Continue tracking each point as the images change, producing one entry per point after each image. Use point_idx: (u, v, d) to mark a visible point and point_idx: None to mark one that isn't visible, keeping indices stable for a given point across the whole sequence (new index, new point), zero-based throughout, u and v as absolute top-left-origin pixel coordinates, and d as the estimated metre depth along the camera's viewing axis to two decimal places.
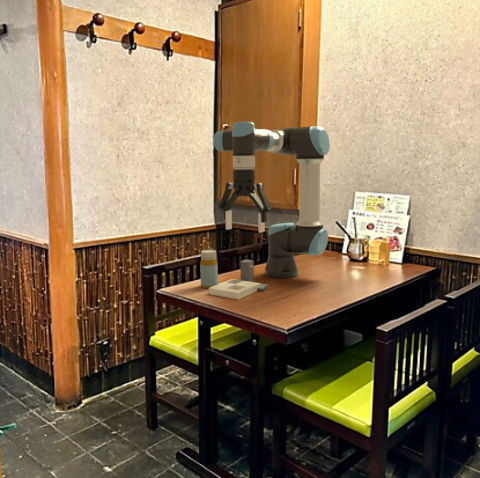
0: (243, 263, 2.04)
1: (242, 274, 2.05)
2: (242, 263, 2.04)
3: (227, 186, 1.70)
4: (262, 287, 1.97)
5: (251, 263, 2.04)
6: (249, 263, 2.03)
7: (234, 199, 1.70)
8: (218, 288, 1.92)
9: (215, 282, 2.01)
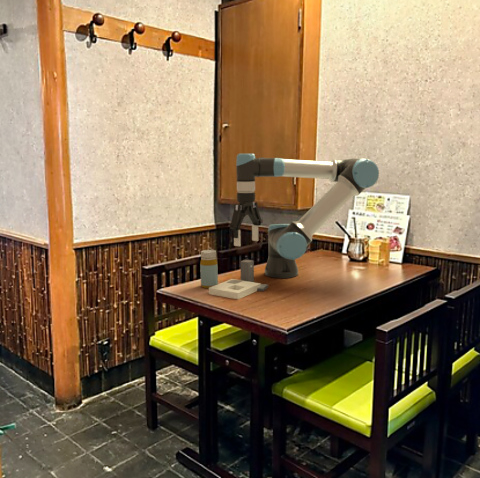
0: (243, 263, 2.04)
1: (242, 274, 2.05)
2: (242, 263, 2.04)
3: None
4: (262, 287, 1.97)
5: (251, 263, 2.04)
6: (249, 263, 2.03)
7: (251, 216, 2.05)
8: (218, 288, 1.92)
9: (215, 282, 2.01)
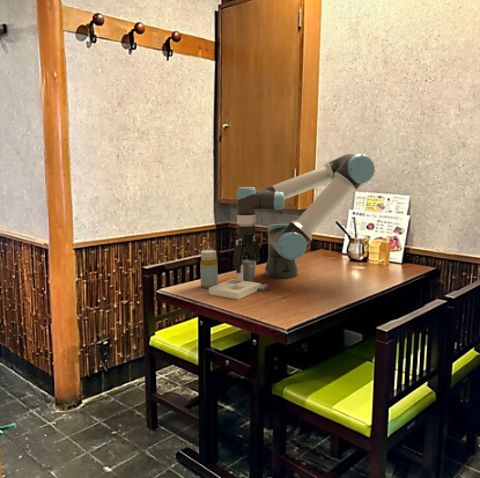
0: (243, 263, 2.04)
1: None
2: (242, 263, 2.04)
3: None
4: (262, 287, 1.97)
5: (251, 263, 2.04)
6: (249, 263, 2.03)
7: (250, 250, 2.06)
8: (218, 288, 1.92)
9: (215, 282, 2.01)
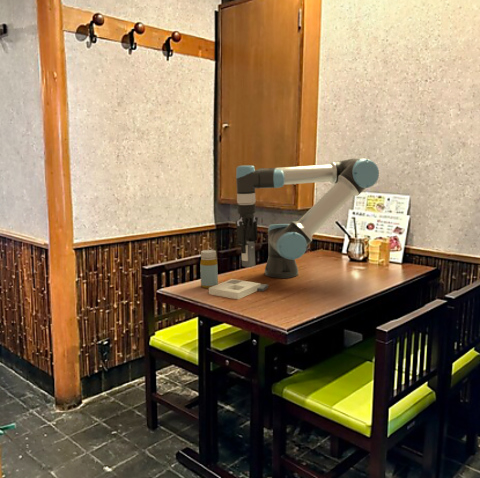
0: None
1: None
2: None
3: None
4: (262, 287, 1.97)
5: (252, 244, 2.03)
6: (250, 244, 2.02)
7: (249, 230, 2.04)
8: (218, 288, 1.92)
9: (215, 282, 2.01)
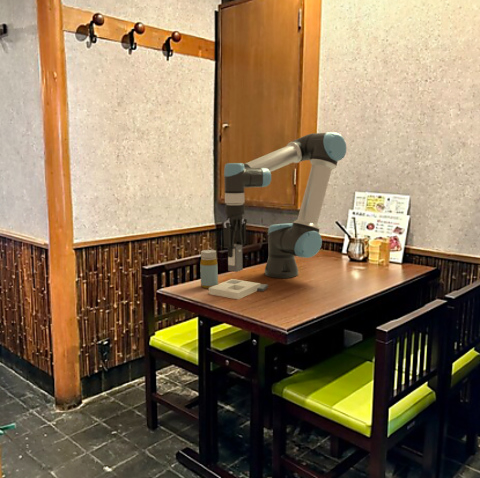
0: None
1: None
2: None
3: None
4: (262, 287, 1.97)
5: (239, 247, 1.89)
6: (237, 248, 1.88)
7: (237, 233, 1.90)
8: (218, 288, 1.92)
9: (215, 282, 2.01)
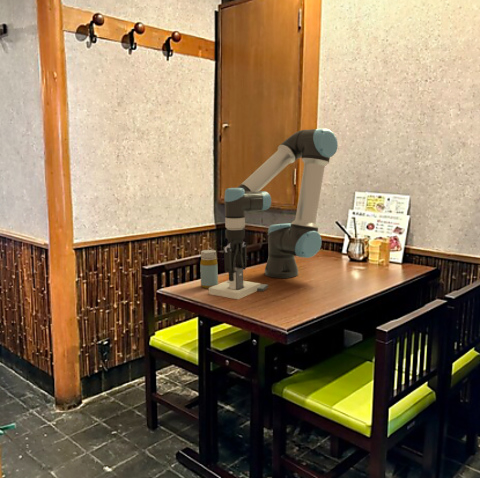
0: None
1: None
2: None
3: None
4: (262, 287, 1.97)
5: (240, 271, 1.90)
6: (238, 272, 1.89)
7: (237, 256, 1.92)
8: (218, 288, 1.92)
9: (215, 282, 2.01)
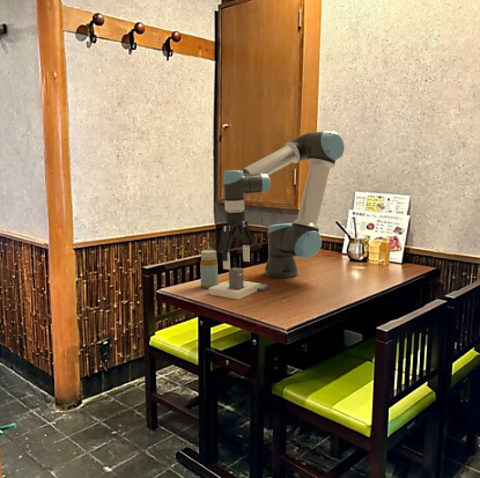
0: (232, 271, 1.90)
1: (231, 282, 1.91)
2: (231, 271, 1.90)
3: None
4: (262, 287, 1.97)
5: (240, 271, 1.90)
6: (238, 272, 1.89)
7: (241, 236, 1.93)
8: (218, 288, 1.92)
9: (215, 282, 2.01)
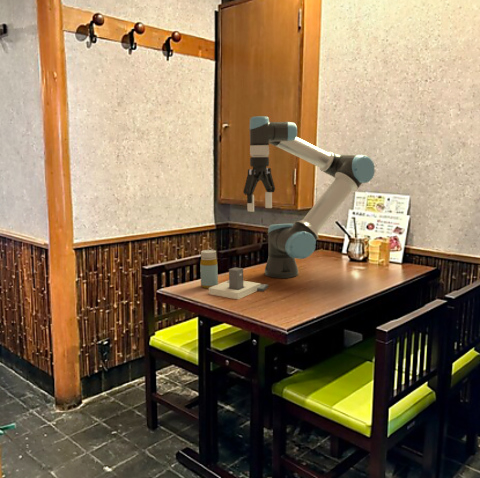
0: (232, 271, 1.90)
1: (231, 282, 1.91)
2: (231, 271, 1.90)
3: None
4: (262, 287, 1.97)
5: (240, 271, 1.90)
6: (238, 272, 1.89)
7: (264, 182, 2.00)
8: (218, 288, 1.92)
9: (215, 282, 2.01)
